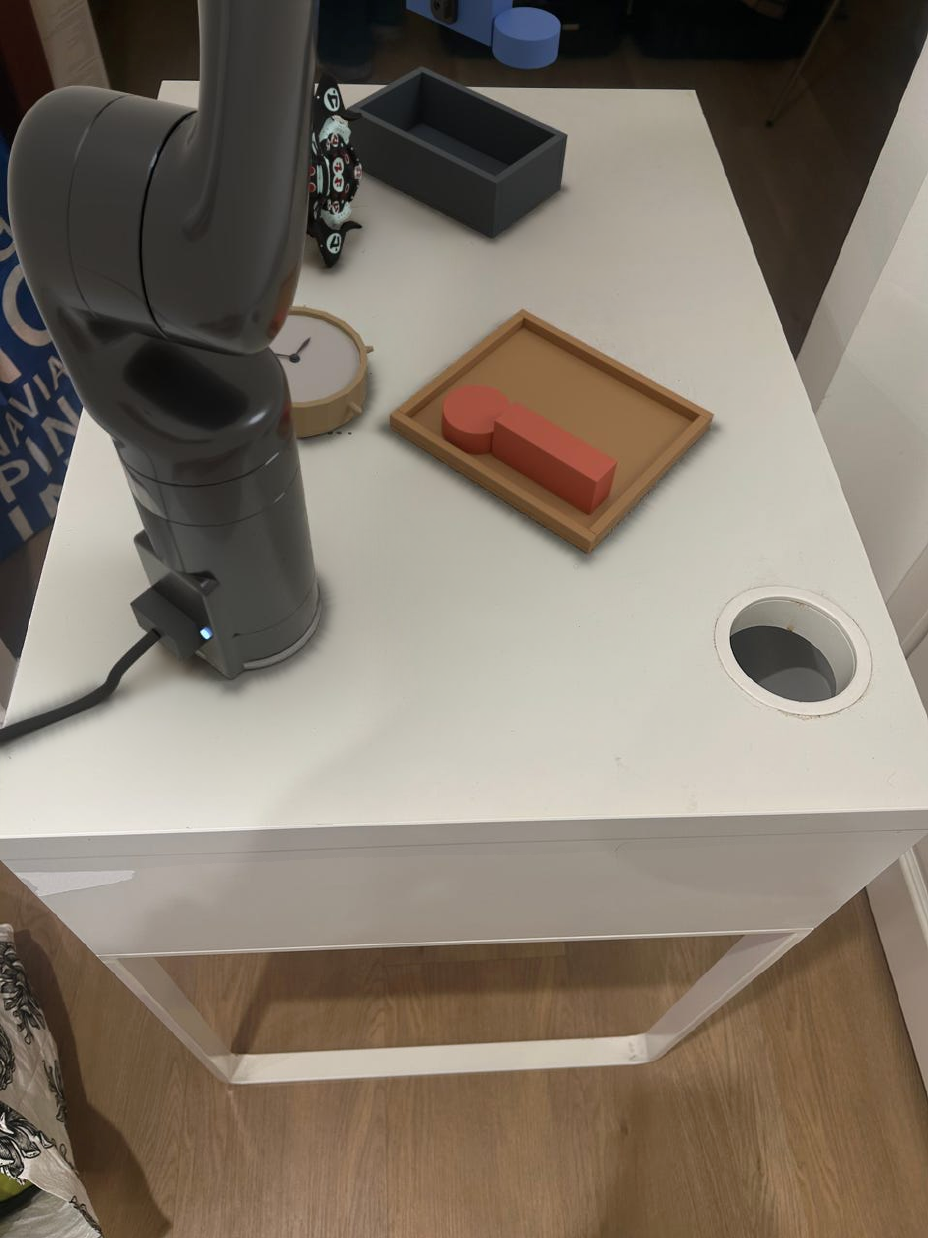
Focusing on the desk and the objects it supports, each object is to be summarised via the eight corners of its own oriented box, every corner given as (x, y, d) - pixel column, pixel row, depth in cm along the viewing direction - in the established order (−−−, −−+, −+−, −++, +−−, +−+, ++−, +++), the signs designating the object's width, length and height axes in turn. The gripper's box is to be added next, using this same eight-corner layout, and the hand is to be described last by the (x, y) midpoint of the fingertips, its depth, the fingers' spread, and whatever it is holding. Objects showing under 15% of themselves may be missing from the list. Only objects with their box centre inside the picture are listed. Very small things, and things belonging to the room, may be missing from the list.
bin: (492, 238, 88) (496, 183, 84) (349, 163, 94) (346, 107, 90) (560, 188, 93) (568, 134, 89) (421, 120, 99) (421, 65, 94)
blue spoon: (436, -8, 83) (437, -56, 80) (570, 51, 78) (576, 3, 75) (395, 13, 80) (394, -35, 77) (530, 76, 76) (535, 27, 73)
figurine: (197, 260, 85) (322, 280, 79) (181, 62, 78) (318, 69, 72) (273, 247, 93) (392, 265, 88) (265, 67, 86) (395, 74, 80)
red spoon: (578, 526, 69) (585, 492, 66) (427, 431, 74) (428, 396, 71) (619, 485, 72) (628, 450, 69) (470, 395, 76) (472, 359, 73)
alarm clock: (362, 417, 71) (152, 374, 69) (354, 463, 75) (155, 423, 73) (379, 317, 77) (187, 274, 75) (370, 363, 81) (188, 324, 79)
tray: (587, 554, 68) (590, 541, 67) (389, 427, 74) (389, 414, 73) (709, 427, 76) (714, 413, 75) (520, 321, 82) (522, 308, 81)
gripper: (487, -299, 69) (475, -31, 84) (352, -254, 63) (365, 28, 78) (572, -273, 67) (545, -1, 81) (440, -223, 61) (436, 62, 75)
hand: (457, 12), depth 79 cm, fingers closed on blue spoon, 2 cm apart
